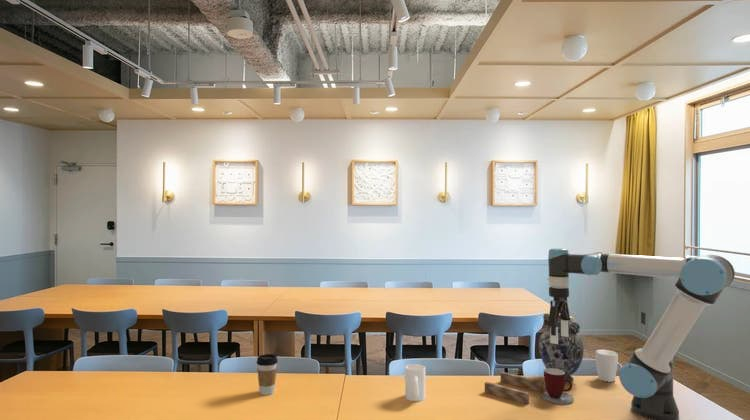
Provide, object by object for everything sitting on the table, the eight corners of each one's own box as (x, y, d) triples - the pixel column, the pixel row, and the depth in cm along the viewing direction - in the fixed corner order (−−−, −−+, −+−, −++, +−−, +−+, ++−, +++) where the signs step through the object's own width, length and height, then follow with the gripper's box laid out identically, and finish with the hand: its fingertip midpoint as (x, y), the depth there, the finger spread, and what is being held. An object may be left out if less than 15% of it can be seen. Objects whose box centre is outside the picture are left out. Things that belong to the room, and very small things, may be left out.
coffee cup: (251, 394, 183) (252, 357, 183) (266, 387, 190) (266, 351, 190) (267, 398, 179) (268, 360, 179) (281, 390, 186) (281, 354, 186)
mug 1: (403, 405, 173) (404, 373, 173) (405, 392, 185) (405, 363, 185) (425, 406, 172) (425, 374, 172) (425, 393, 184) (425, 364, 184)
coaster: (577, 397, 181) (577, 396, 181) (568, 407, 172) (568, 406, 172) (547, 390, 189) (547, 388, 189) (537, 398, 180) (537, 397, 180)
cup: (597, 381, 199) (597, 354, 199) (593, 374, 207) (593, 348, 207) (620, 384, 196) (620, 356, 196) (615, 377, 205) (615, 350, 205)
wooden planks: (543, 391, 188) (543, 381, 188) (527, 404, 174) (527, 394, 174) (502, 380, 199) (502, 371, 199) (484, 392, 186) (484, 382, 186)
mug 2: (568, 393, 184) (568, 369, 184) (574, 401, 176) (574, 376, 176) (541, 392, 185) (541, 367, 186) (546, 400, 177) (546, 374, 178)
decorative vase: (596, 384, 195) (595, 319, 196) (563, 390, 189) (562, 323, 189) (559, 368, 215) (558, 310, 215) (528, 374, 208) (527, 313, 209)
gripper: (558, 282, 194) (559, 332, 193) (538, 289, 174) (539, 345, 174) (577, 284, 189) (578, 334, 188) (558, 291, 169) (559, 348, 169)
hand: (559, 339), depth 181 cm, fingers open, 13 cm apart
